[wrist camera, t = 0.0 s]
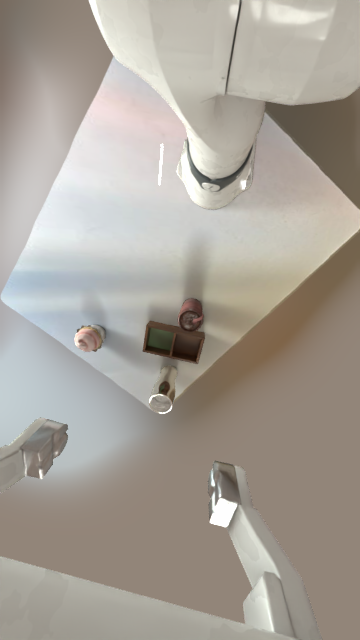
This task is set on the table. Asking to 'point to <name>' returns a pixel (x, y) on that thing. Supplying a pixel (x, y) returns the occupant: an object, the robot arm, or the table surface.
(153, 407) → the beer glass
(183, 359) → the tray
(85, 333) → the cupcake
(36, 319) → the table surface
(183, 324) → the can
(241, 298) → the table surface
